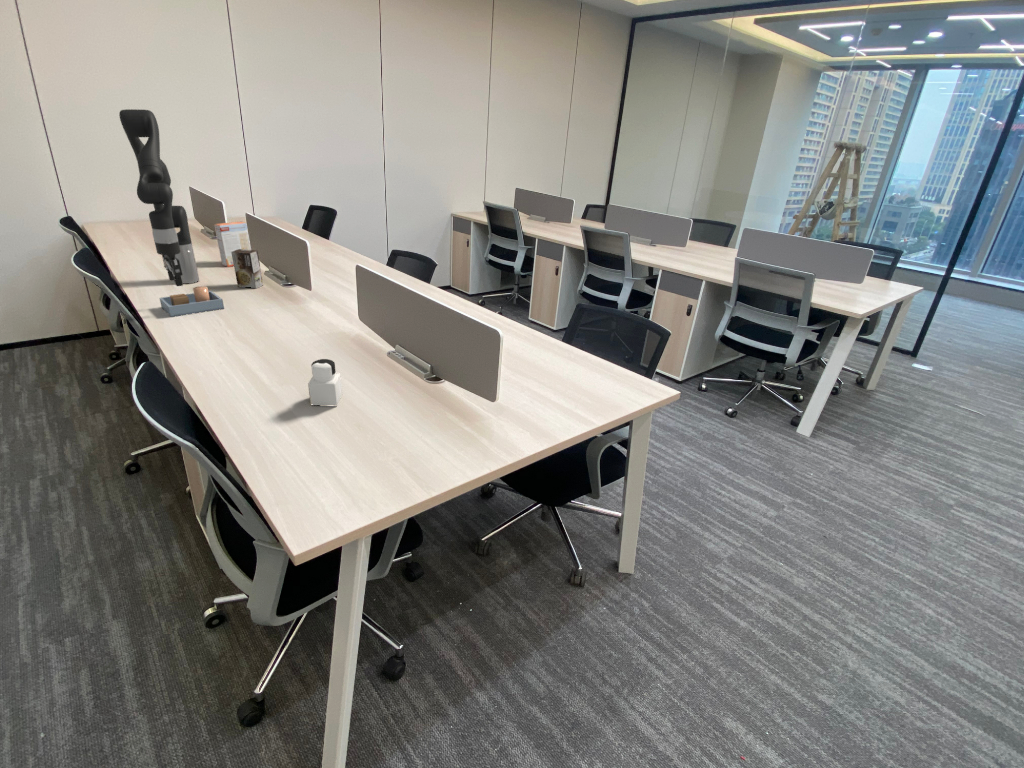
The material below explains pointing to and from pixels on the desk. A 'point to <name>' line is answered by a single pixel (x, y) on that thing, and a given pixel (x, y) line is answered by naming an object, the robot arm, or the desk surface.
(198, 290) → the tan capsule
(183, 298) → the walnut cube
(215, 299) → the tote
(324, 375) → the white blocky figurine
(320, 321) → the desk surface
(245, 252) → the coffee box
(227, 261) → the cracker box
